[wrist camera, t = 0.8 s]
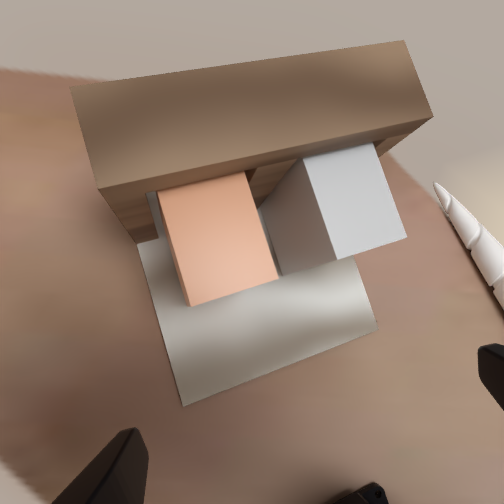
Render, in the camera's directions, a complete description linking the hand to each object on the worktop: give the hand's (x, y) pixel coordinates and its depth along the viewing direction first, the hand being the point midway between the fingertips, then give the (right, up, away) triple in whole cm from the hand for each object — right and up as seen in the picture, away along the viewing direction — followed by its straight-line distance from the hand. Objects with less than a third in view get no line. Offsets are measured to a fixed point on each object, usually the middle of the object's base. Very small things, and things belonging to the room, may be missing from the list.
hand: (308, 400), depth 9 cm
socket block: (-1, +3, +16) cm, 16 cm away
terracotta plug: (-5, +4, +14) cm, 15 cm away
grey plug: (+2, +6, +16) cm, 17 cm away
